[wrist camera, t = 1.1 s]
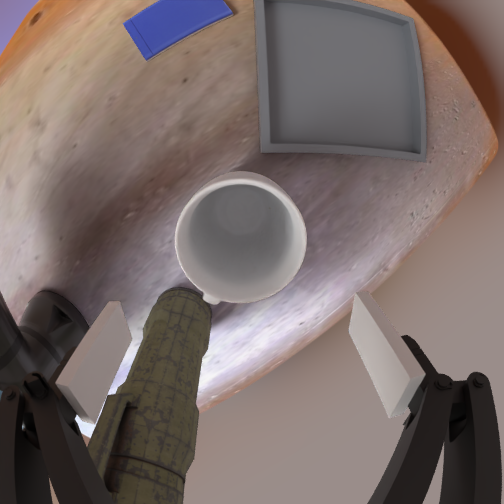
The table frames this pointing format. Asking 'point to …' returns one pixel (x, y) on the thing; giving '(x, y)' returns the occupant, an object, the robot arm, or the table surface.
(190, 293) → the thermos
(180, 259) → the mug
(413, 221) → the table surface
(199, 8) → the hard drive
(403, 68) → the tray
